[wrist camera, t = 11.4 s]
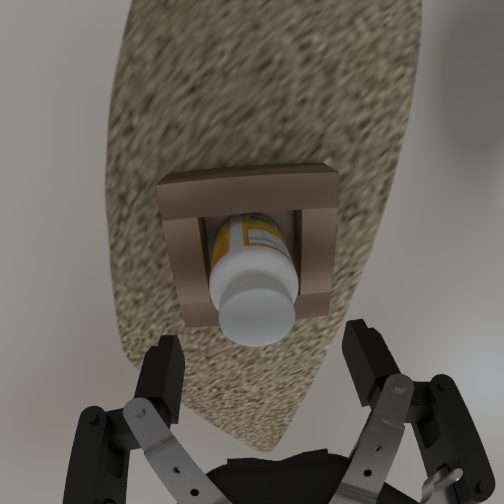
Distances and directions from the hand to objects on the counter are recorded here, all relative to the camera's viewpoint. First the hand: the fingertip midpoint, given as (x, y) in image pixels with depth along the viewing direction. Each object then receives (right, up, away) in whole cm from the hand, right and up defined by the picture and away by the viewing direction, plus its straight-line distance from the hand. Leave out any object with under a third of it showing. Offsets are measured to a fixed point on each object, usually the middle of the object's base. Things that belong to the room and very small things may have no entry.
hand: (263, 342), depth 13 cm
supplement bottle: (-1, +5, +10) cm, 12 cm away
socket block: (-1, +5, +11) cm, 12 cm away
